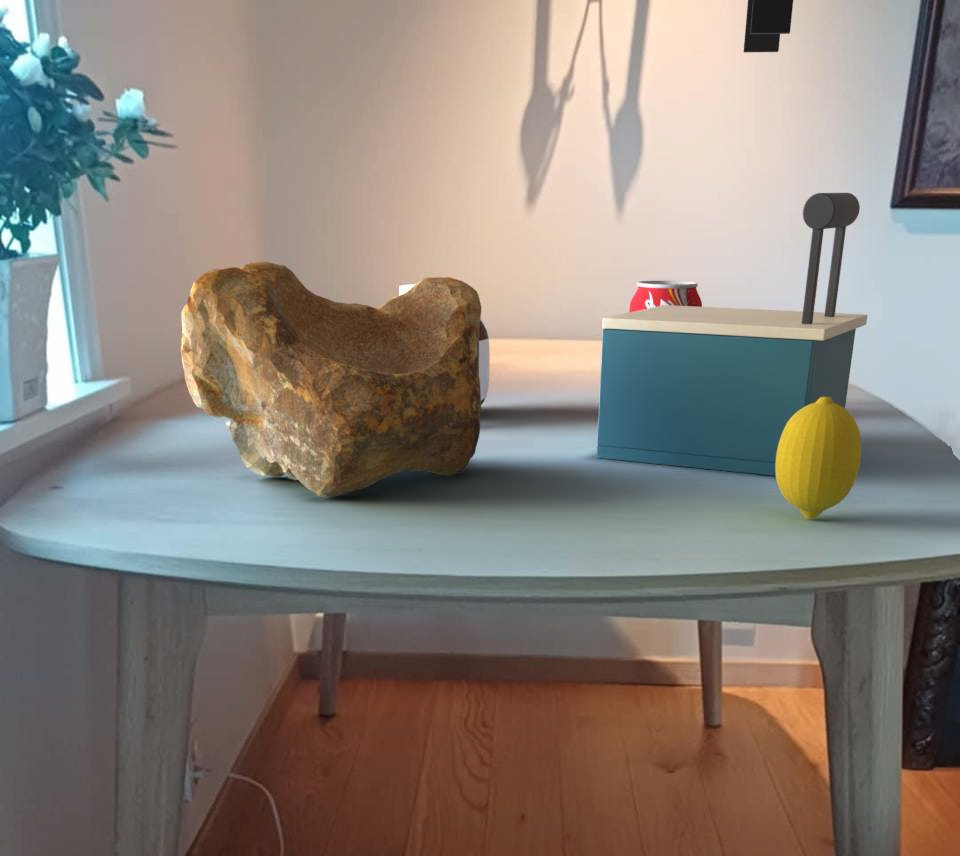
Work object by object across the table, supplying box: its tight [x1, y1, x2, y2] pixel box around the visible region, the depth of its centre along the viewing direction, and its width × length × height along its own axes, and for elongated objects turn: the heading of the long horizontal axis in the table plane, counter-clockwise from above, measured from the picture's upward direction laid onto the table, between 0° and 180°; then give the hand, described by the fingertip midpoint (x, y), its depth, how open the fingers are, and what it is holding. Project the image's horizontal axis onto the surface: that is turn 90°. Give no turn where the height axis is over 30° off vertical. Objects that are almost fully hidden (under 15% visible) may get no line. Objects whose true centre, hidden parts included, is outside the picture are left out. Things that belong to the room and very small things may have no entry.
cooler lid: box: [602, 192, 868, 341], centre depth 100 cm, size 18×14×10 cm
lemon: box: [775, 397, 862, 520], centre depth 84 cm, size 6×6×8 cm
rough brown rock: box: [180, 261, 482, 499], centre depth 92 cm, size 23×17×15 cm
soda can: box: [628, 280, 703, 313], centre depth 122 cm, size 7×7×12 cm
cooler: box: [596, 328, 857, 477], centre depth 105 cm, size 17×14×10 cm
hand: (765, 44), depth 93 cm, fingers open, 13 cm apart
